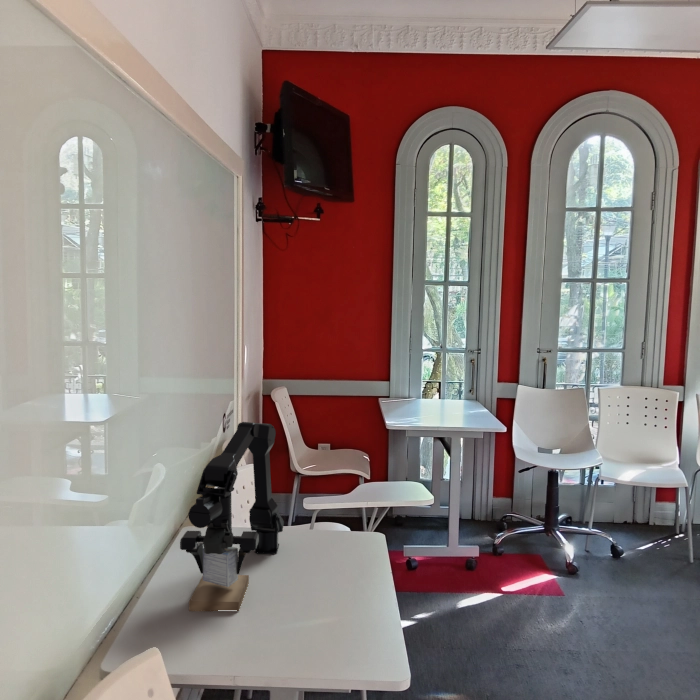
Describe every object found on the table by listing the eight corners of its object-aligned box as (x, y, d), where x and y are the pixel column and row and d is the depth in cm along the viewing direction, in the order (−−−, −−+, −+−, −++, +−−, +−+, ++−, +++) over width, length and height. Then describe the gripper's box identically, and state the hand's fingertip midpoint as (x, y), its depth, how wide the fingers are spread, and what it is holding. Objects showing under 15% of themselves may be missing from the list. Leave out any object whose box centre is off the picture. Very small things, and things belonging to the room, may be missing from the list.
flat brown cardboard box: (248, 586, 159) (248, 575, 159) (238, 613, 145) (238, 601, 145) (203, 585, 159) (203, 574, 159) (189, 613, 145) (189, 601, 145)
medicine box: (238, 580, 152) (238, 547, 152) (228, 588, 148) (228, 554, 148) (213, 574, 156) (213, 541, 155) (202, 581, 152) (202, 548, 151)
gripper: (173, 525, 142) (174, 588, 144) (252, 525, 142) (252, 589, 144) (185, 508, 153) (186, 567, 155) (259, 509, 154) (259, 568, 155)
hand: (220, 573), depth 152 cm, fingers closed on medicine box, 9 cm apart
